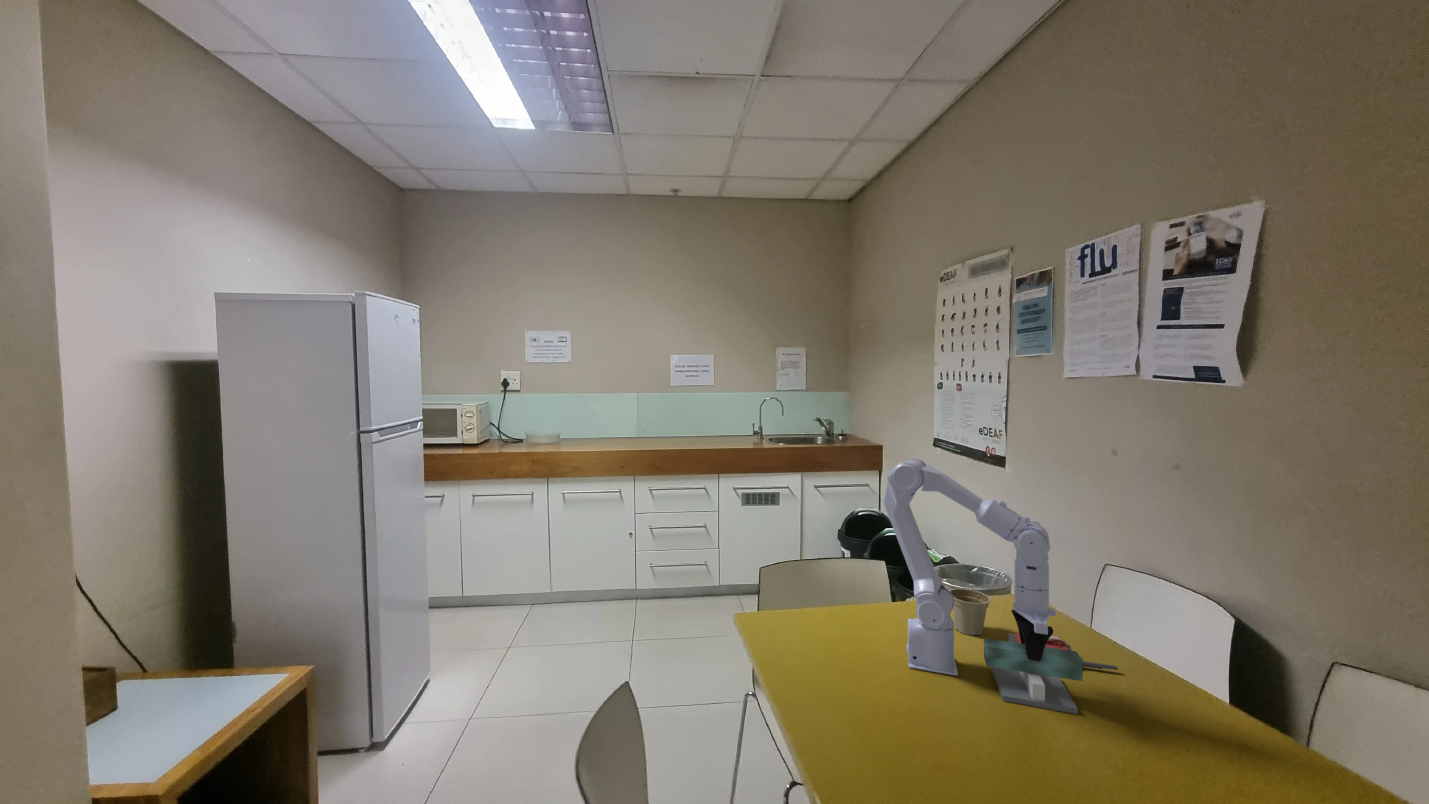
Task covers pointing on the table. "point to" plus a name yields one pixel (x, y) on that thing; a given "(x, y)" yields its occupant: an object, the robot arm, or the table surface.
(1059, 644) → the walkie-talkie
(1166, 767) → the table surface
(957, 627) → the flower pot
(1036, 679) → the stand
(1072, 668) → the teal bar
